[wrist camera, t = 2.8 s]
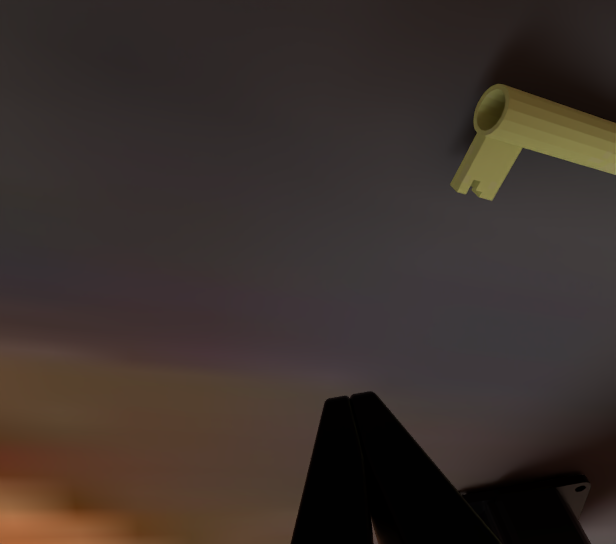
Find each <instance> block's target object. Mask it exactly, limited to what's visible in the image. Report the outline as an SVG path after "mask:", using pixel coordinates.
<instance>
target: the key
mask: <svg viewBox="0 0 616 544" xmlns="http://www.w3.org/2000/svg"><path fill="white" fill-rule="evenodd" d="M473 122H474V129H475V130H476V132H477V134H476V136H475V138H474V140H473V142H472V144H471V145H470V147H469V149H468V151H467V153H466V155H465V157H464V159H463V161H462V163H461V165H460V167H459V168H458V170H457V172H456V174H455V176H454V178H453V180H452V182H451V184H450V185H451V186H452V187H453V188H454V189H455V191H456V192H459V193H463V194H466V193H467V191H468V189H469V188H470V186H472V187H473V188H472V191H473V192H474V193H475V194H476V195H477V196H478V197H480V198H484V199H488V200H493V198H494V196H495V195H496V193H497V191H498V189H499V188H500V186H501V184H502V183H503V181H504V179H505V177H506V176H507V174H508V172H509V170H510V169H511V167H512V165H513V164H514V162H515V160H516V158H517V157H518V155H519V153H520V152H521V150H522V148H526V149H529V150H533V151H536V152H540V153H543V154H546V155H550V156H553V157H557V158H560V159H563V160H567V161H570V162H574V163H577V164H580V165H584V166H587V167H591V168H594V169H597V170H601V171H604V172H608V173H611V174H614V175H616V123H614V122H611V121H608V120H605V119H602V118H599V117H596V116H594V115H591V114H588V113H585V112H582V111H579V110H576V109H573V108H570V107H567V106H565V105H562V104H559V103H556V102H553V101H550V100H547V99H544V98H541V97H538V96H535V95H533V94H530V93H527V92H524V91H521V90H518V89H515V88H512V87H509V86H506V85H503V84H496V85H493V86H491V87H490V88H489V89H488V90H487V91H486V92H485V93H484V94H483V95H482V97H481V98H480V100H479V102H478V104H477V107H476V109H475V113H474V119H473Z"/></svg>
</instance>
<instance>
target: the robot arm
mask: <svg viewBox="0 0 616 544" xmlns="http://www.w3.org/2000/svg"><path fill="white" fill-rule="evenodd" d="M590 488H591V484H590V482H589V481H588V479H587V477H586V476H585V475H582V474H581V475H574V476H568V477H562V478H557V479H551V480H546V481H540V482H535V483H529V484H523V485H518V486H512V487H507V488H501V489H496V490H490V491H485V492H479V493H473V494H468V495H461V494H460V493H459V492H458V491H457V489H456V488H455V487H454V486H453V485H452V484H451V482H450V481H449V480H448V479H447V478H446V476H445V475H444V474H443V473H442V472H441V471H440V469H439V468H438V467H437V466H436V465H435V463H434V462H433V461H432V460H431V459H430V457H429V456H428V455H427V454H426V453H425V452H424V450H423V449H422V448H421V447H420V446H419V444H418V443H417V442H416V441H415V440H414V439H413V437H412V436H411V435H410V434H409V433H408V431H407V430H406V429H405V428H404V427H403V425H402V424H401V423H400V422H399V421H398V420H397V418H396V417H395V416H394V415H393V414H392V412H391V411H390V410H389V409H388V408H387V407H386V405H385V404H384V403H383V402H382V401H381V399H380V398H379V397H378V396H377V395H376V394H375V393H374V392H371V391H369V392H363V393H357V394H353V395H352V396H351V397H350V398H349V397H348V396H340V397H334V398H329V399H327V400H326V401H325V403H324V407H323V411H322V415H321V419H320V423H319V427H318V432H317V436H316V440H315V444H314V448H313V453H312V457H311V461H310V465H309V469H308V473H307V478H306V482H305V486H304V490H303V494H302V498H301V503H300V507H299V511H298V515H297V519H296V523H295V528H294V532H293V536H292V540H291V544H374V543H373V532H372V523H373V527H374V530H375V534H376V537H377V541H378V544H591V543H590V541H589V539H588V537H587V535H586V534H585V532H584V530H583V528H582V526H581V525H580V523H579V521H578V520H579V517H580V515H581V512H582V509H583V507H584V504H585V501H586V499H587V496H588V493H589V491H590ZM371 519H372V522H371Z"/></svg>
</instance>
